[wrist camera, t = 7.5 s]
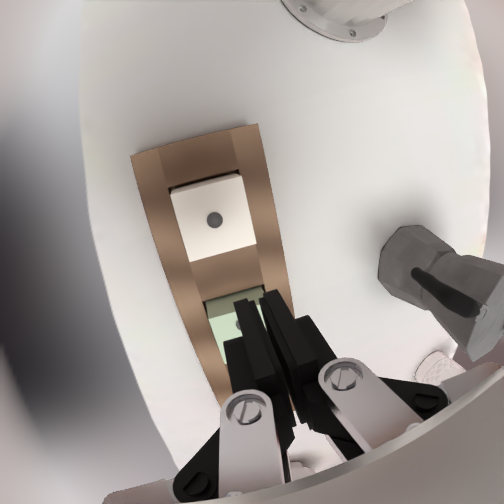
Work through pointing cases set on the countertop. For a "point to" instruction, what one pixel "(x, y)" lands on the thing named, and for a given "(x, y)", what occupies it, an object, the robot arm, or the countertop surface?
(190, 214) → the button one
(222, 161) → the button panel
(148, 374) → the countertop surface
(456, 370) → the white cup
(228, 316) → the button two
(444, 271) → the coffeepot
